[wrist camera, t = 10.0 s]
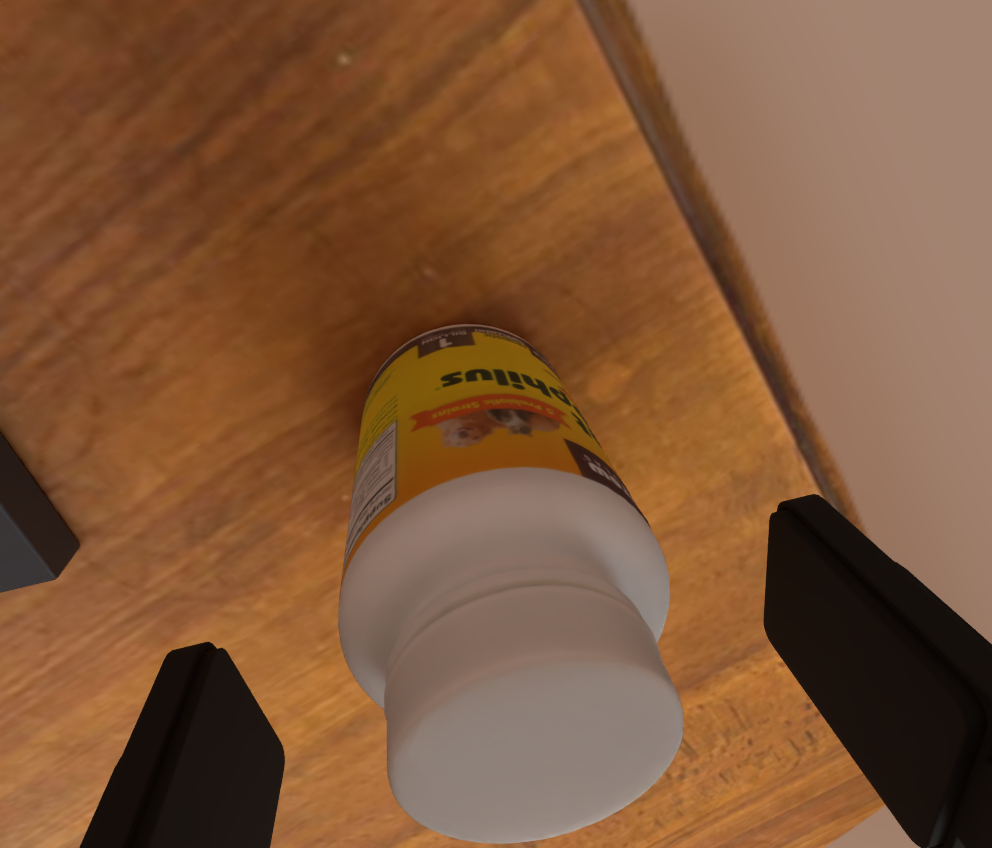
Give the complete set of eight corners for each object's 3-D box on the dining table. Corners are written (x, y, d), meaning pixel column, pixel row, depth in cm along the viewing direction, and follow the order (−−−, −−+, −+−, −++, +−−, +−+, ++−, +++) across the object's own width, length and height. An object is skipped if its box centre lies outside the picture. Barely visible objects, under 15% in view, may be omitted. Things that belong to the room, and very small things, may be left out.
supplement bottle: (596, 369, 16) (833, 676, 8) (497, 515, 18) (593, 896, 9) (419, 276, 14) (456, 541, 6) (329, 450, 16) (250, 854, 7)
